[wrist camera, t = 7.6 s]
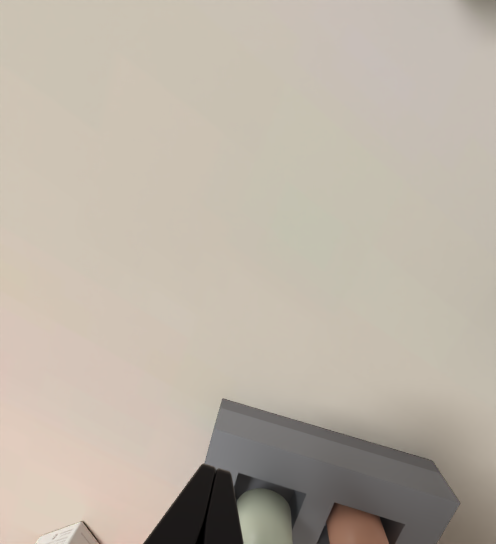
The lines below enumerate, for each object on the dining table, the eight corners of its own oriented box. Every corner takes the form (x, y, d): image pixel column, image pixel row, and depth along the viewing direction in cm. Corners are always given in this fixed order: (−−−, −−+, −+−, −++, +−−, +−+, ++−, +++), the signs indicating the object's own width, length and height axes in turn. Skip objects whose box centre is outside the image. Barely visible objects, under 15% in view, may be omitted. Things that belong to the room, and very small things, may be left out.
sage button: (297, 498, 18) (302, 557, 15) (282, 538, 19) (283, 602, 16) (243, 481, 18) (236, 536, 15) (230, 522, 19) (221, 581, 16)
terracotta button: (384, 498, 19) (405, 552, 16) (366, 535, 20) (382, 593, 17) (333, 483, 20) (344, 533, 16) (317, 520, 20) (325, 574, 17)
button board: (432, 460, 20) (462, 506, 16) (350, 617, 24) (361, 677, 21) (222, 398, 20) (213, 430, 17) (178, 561, 25) (164, 610, 21)
